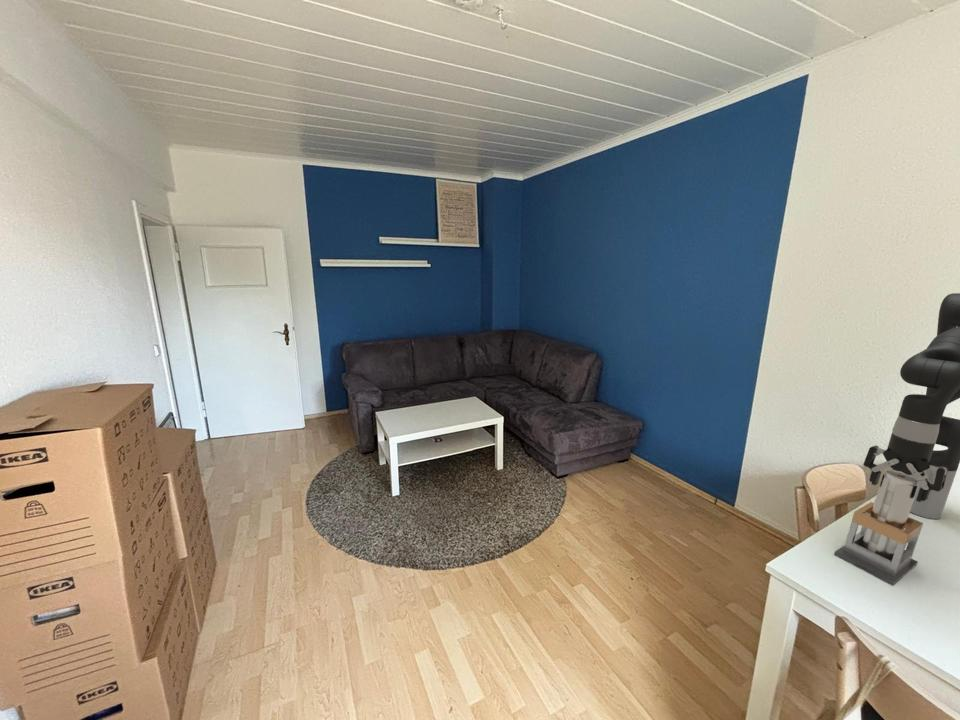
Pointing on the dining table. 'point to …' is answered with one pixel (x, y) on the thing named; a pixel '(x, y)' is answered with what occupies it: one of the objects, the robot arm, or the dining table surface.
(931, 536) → the dining table surface
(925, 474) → the robot arm
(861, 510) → the collar stand
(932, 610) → the dining table surface
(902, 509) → the grey cylinder
